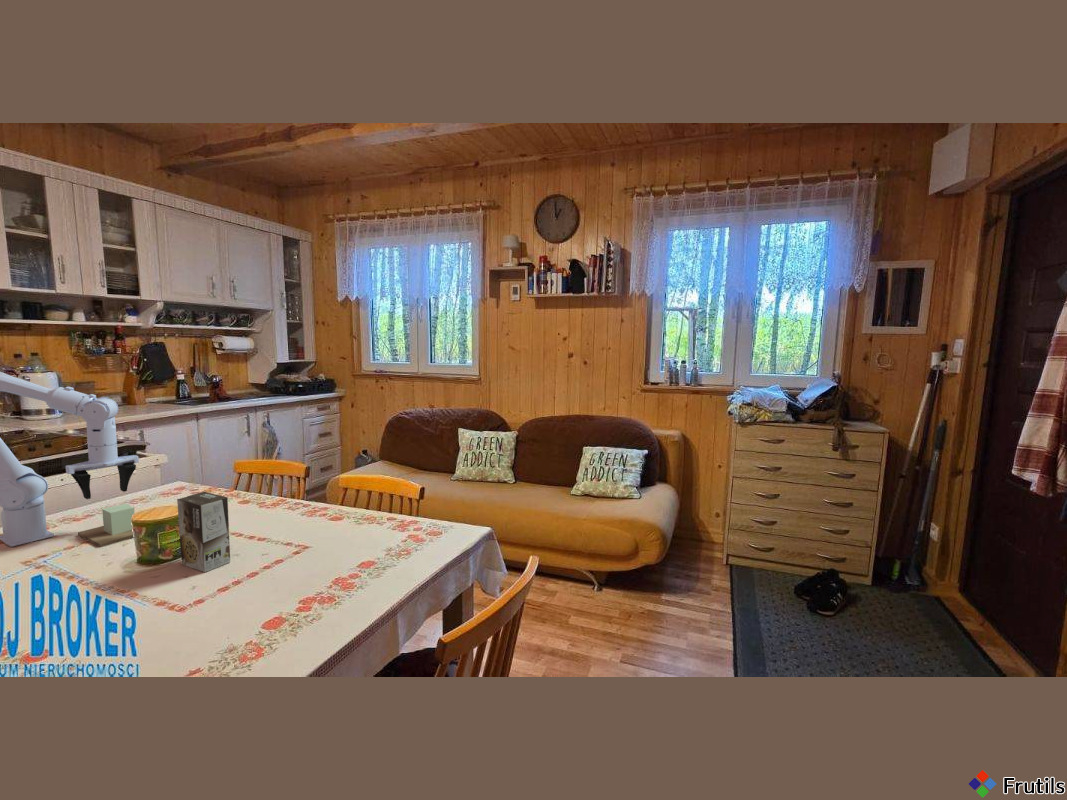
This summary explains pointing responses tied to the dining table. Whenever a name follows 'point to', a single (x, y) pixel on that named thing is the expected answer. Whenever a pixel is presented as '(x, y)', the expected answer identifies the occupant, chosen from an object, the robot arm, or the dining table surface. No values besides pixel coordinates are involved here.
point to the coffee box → (204, 531)
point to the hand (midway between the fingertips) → (105, 494)
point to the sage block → (117, 519)
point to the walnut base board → (104, 536)
